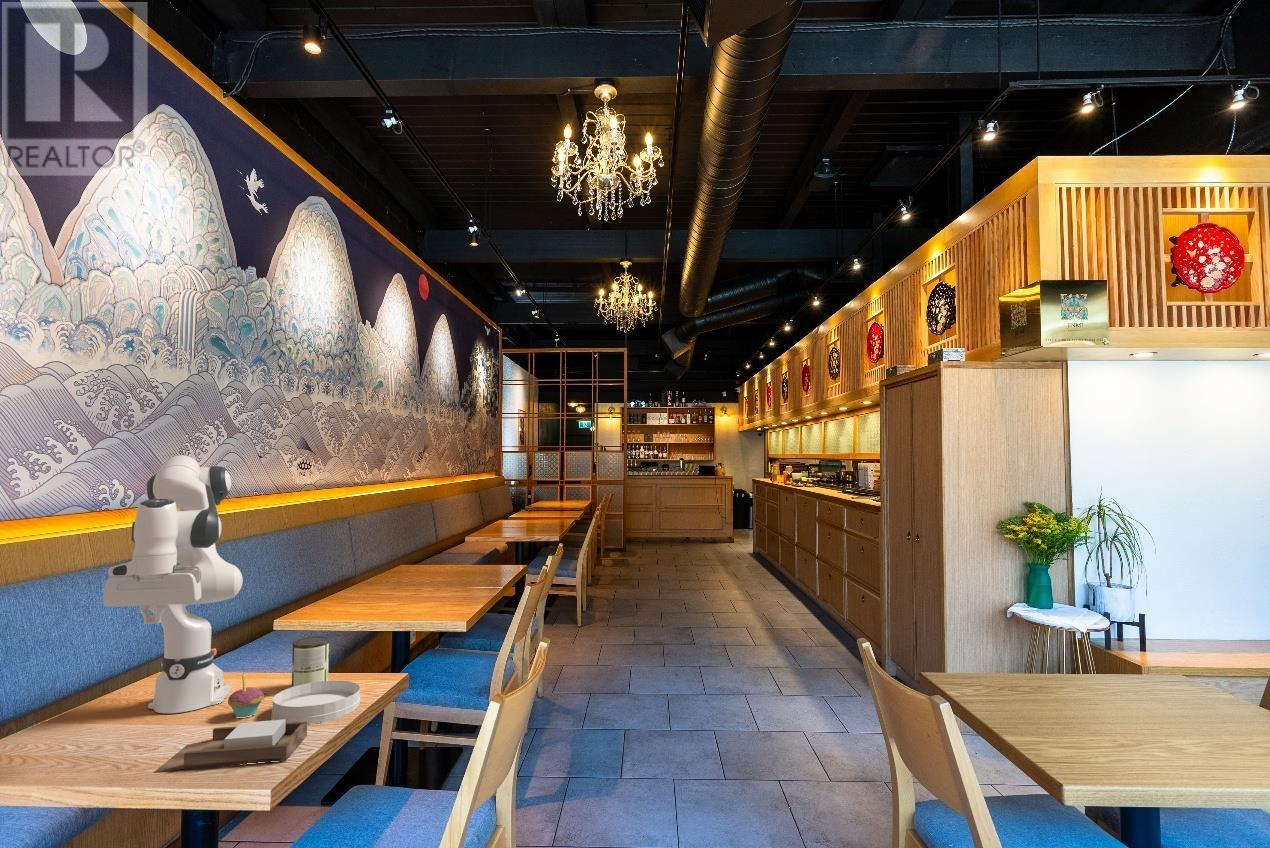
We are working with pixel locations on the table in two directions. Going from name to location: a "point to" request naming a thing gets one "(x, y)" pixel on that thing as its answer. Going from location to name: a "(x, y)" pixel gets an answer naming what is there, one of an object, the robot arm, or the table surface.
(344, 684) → the dish
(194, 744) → the dock
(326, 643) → the coffee can
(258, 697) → the cupcake
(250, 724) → the grey square tile
